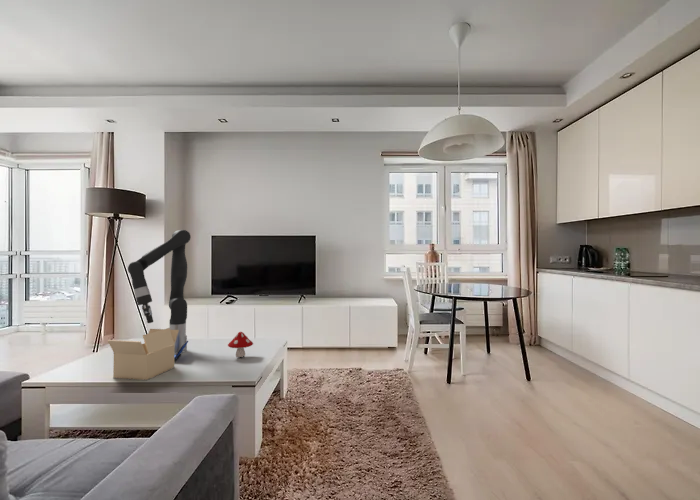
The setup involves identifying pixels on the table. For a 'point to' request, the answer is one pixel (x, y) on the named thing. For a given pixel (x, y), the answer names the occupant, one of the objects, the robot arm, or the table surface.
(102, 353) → the table surface
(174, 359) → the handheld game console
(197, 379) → the table surface
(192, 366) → the table surface
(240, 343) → the decorative mushroom
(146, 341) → the near flap
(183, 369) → the table surface
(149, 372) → the carton
